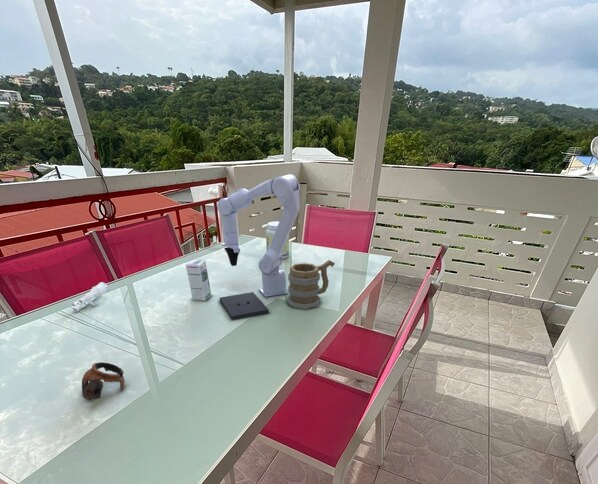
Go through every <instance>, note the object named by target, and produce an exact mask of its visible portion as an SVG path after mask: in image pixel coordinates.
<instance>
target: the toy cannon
mask: <svg viewBox="0 0 598 484" xmlns="http://www.w3.org/2000/svg"><path fill="white" fill-rule="evenodd" d="M109 290H110V288H109V286H108V284H107V283H106V282H103V281H101V282H99V283H97V285H95V286H92V287H91V289H90V291H89V292H88V293H86V294H83V296H82V297H80V298H79V299H77V300H75V301H74V302H72V303H71V306H72V307H73V309H72V310H73V311H74V312H75V313H78V312H79V311H80V310H81V309H84V308H85V306H88V305H91V306H93V307H94V306H96V304H95V302H94V301H95V300H97V299H98V298H100V297H101V296H102V295H103V294H104V293H108V292H109Z"/></svg>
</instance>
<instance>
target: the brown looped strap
mask: <svg viewBox="0 0 598 484" xmlns="http://www.w3.org/2000/svg"><path fill="white" fill-rule="evenodd" d="M102 368H103V369H104V370H105V372H103V371H101V370H100V369H102ZM108 372H112V373H108ZM103 382H104V383H119V384H120V385H119V388H120V390H124V387H125V383H126V380H125V377H124V370H123V369H122V368H121V367H120V366H117V365H115V364H112V363H110V362H105V361H102V362H99V361H98V362H94V363H93V364H92V365H91V368H89V369H87V370H86V372H84V374H83V375H82V379H81V391H82V392H81V394H82V396H83V398H85V399H86V400H88V401H90V400H91V399H93V400H97V399H101V398H102V391H103V388H104V384H103Z"/></svg>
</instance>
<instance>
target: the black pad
mask: <svg viewBox="0 0 598 484" xmlns="http://www.w3.org/2000/svg"><path fill="white" fill-rule="evenodd" d="M259 299H260V298H259V297H258V296H257V294H255V293H254V292H253V291H252V292H251V291H250V292H244V293H238V294H232V295H227V296H222V297H219V302H220V304H221V305H222V307H223V309H225V305H230V304H236V303H237V305H238V306H241V305H247V304H248V301H253V300H259Z"/></svg>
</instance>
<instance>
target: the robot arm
mask: <svg viewBox="0 0 598 484" xmlns="http://www.w3.org/2000/svg"><path fill="white" fill-rule="evenodd" d="M300 189H301V186H300V183H299V181H298V179H297V178H296V176H295V175H293V174H290V173H289V174H285V175H283V176H277V177H275V178H271V179H268V180H267V179H266V180H265V181H263V182H261V183H259V184H257V185H256V186H254V187H252V188H251V189H249V190H248V189H246V188H242V187H241V188H237V189H236V192H233V193H232V194H231V193H229V194H227V195H226V196H227V197H225V198H224V197H223V198H220V199H219V200H218V201H217V204H216V208H217V212H218V213H219V214H220V218H221V225H222V236H223V242H222V243H220V244H221V246H222V247H224V251H225V252H226V254H227V257H228V261H229V263H230V266H231V267H236V266H238V265H237V264H238V257H239V254H240V251H241V249H240V242H239V232H238V231H239V230H238V220H237V212H239V211H241V210H243V209H244V208H247V207H249V206H251V205H252V204H253V200H254V199H257V198H259V197H262V196H263V195H266V194H269V195H274V196H275V197H276V198H277V199H278V201H279V202H280V203H281V205H282V207H283V211H282V214H281V216H280V219H279V224H278V226H277V229H276V231H275V234H274V236H273V239H272V242H271V244H270V247H269V249H268V250H267V249H266V251H265V253H264V254H263V257H262V258H261V259H260V260H259V261H258V269H259V270H260V272H261V282H262V288H260V289H259V292H261V293H262V295H264V297H265V298H269V297H275V296H280V295H285V294H288V293H287V278H286V277H287V276H286V273H285V271H284V270H283V269H280V266H281V265H282V261H283V259H282V255H283V253H282V250H283V248H284V245H285V243H286V241H287V238H288V236H289V237H290V234H291V231H292V228H293V226H294V224H295V222H296V220H297V217H298V214H299V212H300V210H301V203H300V202H301V199H300V198H301V197H300V191H301V190H300Z"/></svg>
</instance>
